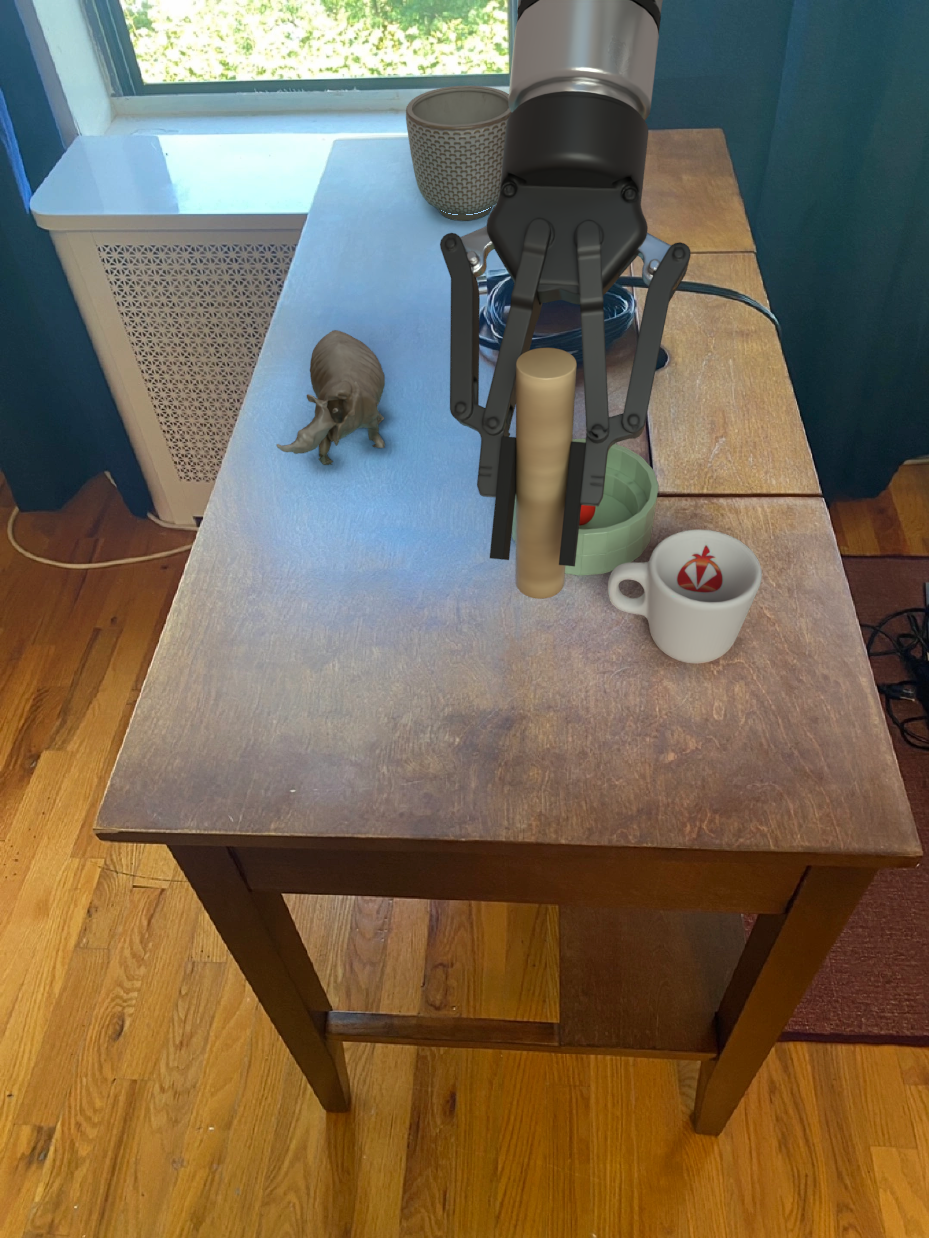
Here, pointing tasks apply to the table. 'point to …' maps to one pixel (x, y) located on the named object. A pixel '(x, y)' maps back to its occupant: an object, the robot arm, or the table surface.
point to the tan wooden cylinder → (542, 466)
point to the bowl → (616, 515)
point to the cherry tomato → (586, 514)
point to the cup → (692, 592)
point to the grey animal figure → (341, 395)
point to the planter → (458, 147)
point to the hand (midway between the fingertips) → (533, 561)
